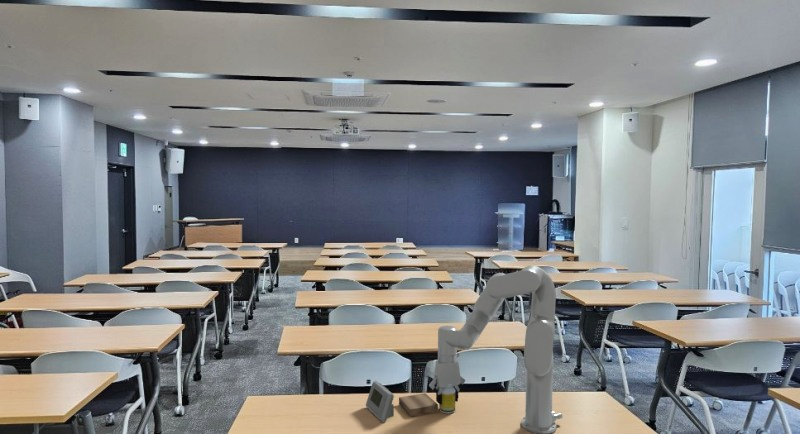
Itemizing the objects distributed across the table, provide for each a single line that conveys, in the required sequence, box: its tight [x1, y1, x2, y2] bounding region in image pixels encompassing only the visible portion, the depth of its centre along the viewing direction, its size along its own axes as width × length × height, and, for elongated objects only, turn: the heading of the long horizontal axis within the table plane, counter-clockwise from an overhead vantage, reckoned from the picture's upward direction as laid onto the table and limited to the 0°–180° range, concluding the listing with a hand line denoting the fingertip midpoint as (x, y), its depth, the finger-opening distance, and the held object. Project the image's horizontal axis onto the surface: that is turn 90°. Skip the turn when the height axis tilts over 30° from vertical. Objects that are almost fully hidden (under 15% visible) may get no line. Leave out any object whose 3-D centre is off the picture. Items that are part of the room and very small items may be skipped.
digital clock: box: [365, 380, 395, 423], centre depth 182 cm, size 16×9×11 cm, turn 16°
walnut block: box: [398, 392, 439, 418], centre depth 187 cm, size 12×12×3 cm
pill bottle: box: [438, 384, 456, 414], centre depth 185 cm, size 6×6×12 cm
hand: (447, 401), depth 185 cm, fingers closed on pill bottle, 6 cm apart
